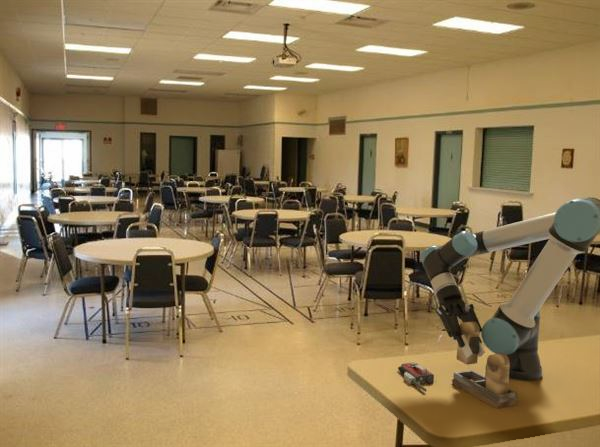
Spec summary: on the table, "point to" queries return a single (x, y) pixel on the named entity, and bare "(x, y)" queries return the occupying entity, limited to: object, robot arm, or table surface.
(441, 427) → the table surface
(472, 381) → the rail
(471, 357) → the block
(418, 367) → the walkie-talkie
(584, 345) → the table surface
